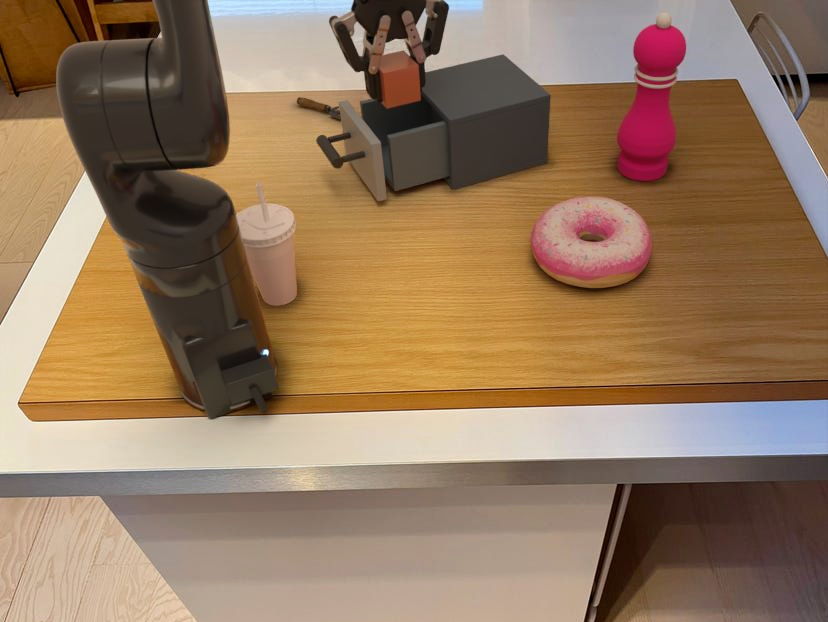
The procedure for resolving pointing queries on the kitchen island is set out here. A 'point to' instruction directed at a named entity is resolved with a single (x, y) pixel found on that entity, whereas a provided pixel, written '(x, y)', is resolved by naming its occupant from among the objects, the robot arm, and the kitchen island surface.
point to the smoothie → (270, 249)
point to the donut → (591, 261)
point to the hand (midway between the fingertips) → (396, 94)
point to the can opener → (319, 107)
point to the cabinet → (489, 118)
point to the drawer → (391, 144)
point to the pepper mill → (651, 102)
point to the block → (399, 79)
